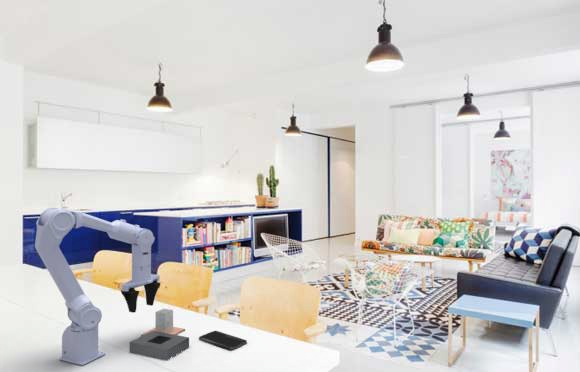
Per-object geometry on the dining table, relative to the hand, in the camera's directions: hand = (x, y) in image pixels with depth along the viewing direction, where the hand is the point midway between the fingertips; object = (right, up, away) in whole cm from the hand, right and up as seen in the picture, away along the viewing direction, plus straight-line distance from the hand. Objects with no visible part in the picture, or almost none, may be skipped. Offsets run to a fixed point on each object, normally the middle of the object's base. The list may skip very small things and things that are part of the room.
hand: (141, 308), depth 127 cm
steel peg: (+5, -10, +6) cm, 13 cm away
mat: (+5, -10, +7) cm, 13 cm away
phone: (+26, -11, 0) cm, 28 cm away
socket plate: (+8, -11, -7) cm, 15 cm away
